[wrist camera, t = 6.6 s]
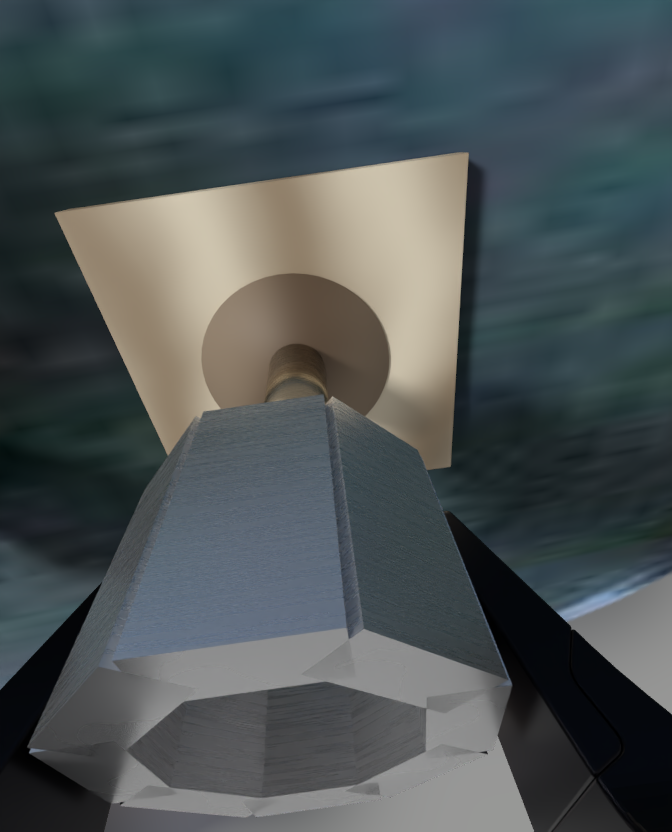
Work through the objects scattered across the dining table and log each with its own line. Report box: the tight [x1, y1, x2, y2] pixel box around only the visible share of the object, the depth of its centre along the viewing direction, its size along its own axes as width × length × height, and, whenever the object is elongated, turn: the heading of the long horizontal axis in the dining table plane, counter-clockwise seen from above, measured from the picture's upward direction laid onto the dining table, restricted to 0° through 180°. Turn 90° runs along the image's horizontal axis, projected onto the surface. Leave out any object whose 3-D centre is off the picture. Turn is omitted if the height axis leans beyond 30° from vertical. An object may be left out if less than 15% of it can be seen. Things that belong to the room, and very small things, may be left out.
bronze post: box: [264, 344, 329, 404], centre depth 15 cm, size 2×2×4 cm
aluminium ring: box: [27, 394, 512, 817], centre depth 8 cm, size 7×7×5 cm
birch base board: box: [55, 153, 469, 470], centre depth 18 cm, size 14×14×1 cm
